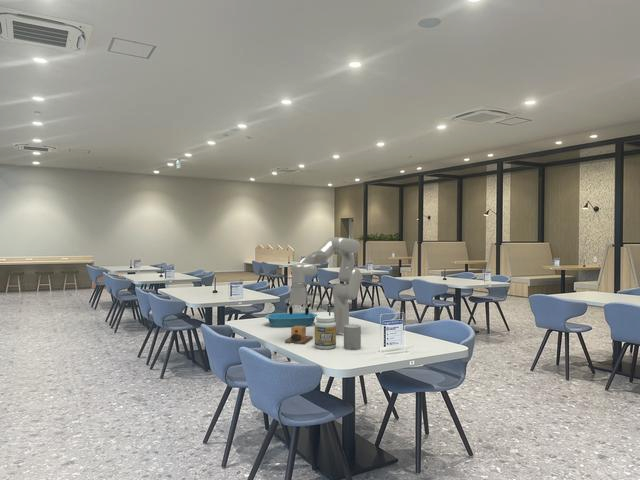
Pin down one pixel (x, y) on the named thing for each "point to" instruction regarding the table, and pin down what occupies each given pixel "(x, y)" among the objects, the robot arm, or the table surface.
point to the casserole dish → (291, 319)
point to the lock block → (299, 331)
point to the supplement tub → (325, 332)
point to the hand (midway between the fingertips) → (298, 314)
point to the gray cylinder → (352, 337)
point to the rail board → (298, 339)
